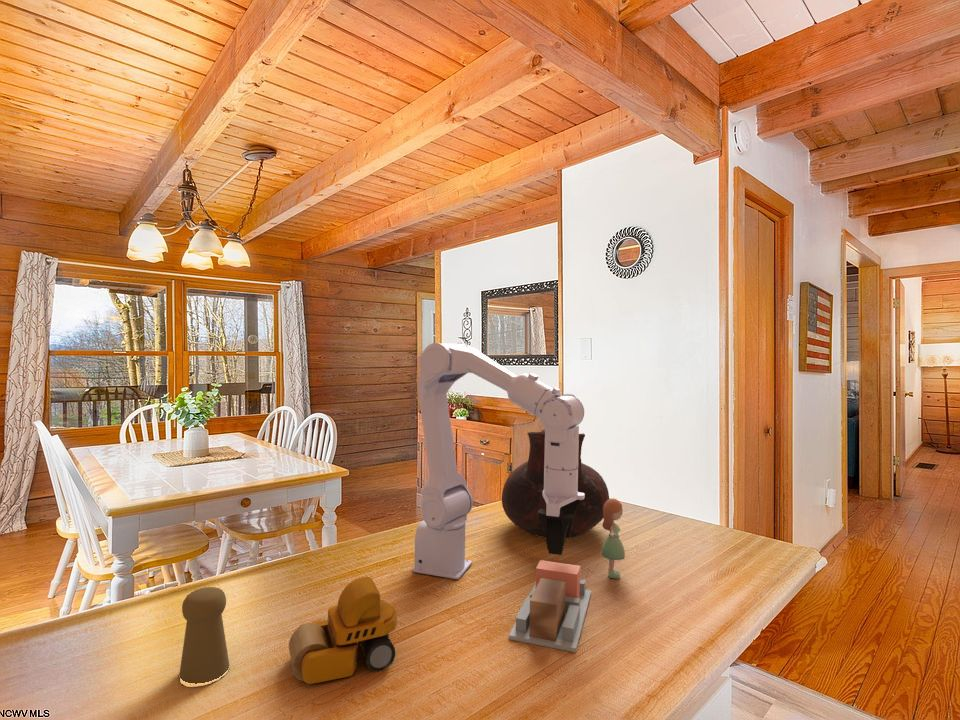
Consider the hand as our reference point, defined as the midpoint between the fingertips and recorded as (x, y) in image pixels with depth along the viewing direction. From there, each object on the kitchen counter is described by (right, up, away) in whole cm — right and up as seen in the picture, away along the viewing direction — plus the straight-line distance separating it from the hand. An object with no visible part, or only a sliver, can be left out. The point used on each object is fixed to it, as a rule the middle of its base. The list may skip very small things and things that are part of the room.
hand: (559, 545), depth 91 cm
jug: (+4, -9, +34) cm, 36 cm away
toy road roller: (-32, -10, -17) cm, 38 cm away
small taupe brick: (-3, -10, -8) cm, 13 cm away
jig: (-2, -10, -4) cm, 11 cm away
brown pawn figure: (-50, -10, -20) cm, 55 cm away
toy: (+12, -10, +11) cm, 19 cm away
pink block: (0, -9, 0) cm, 9 cm away
